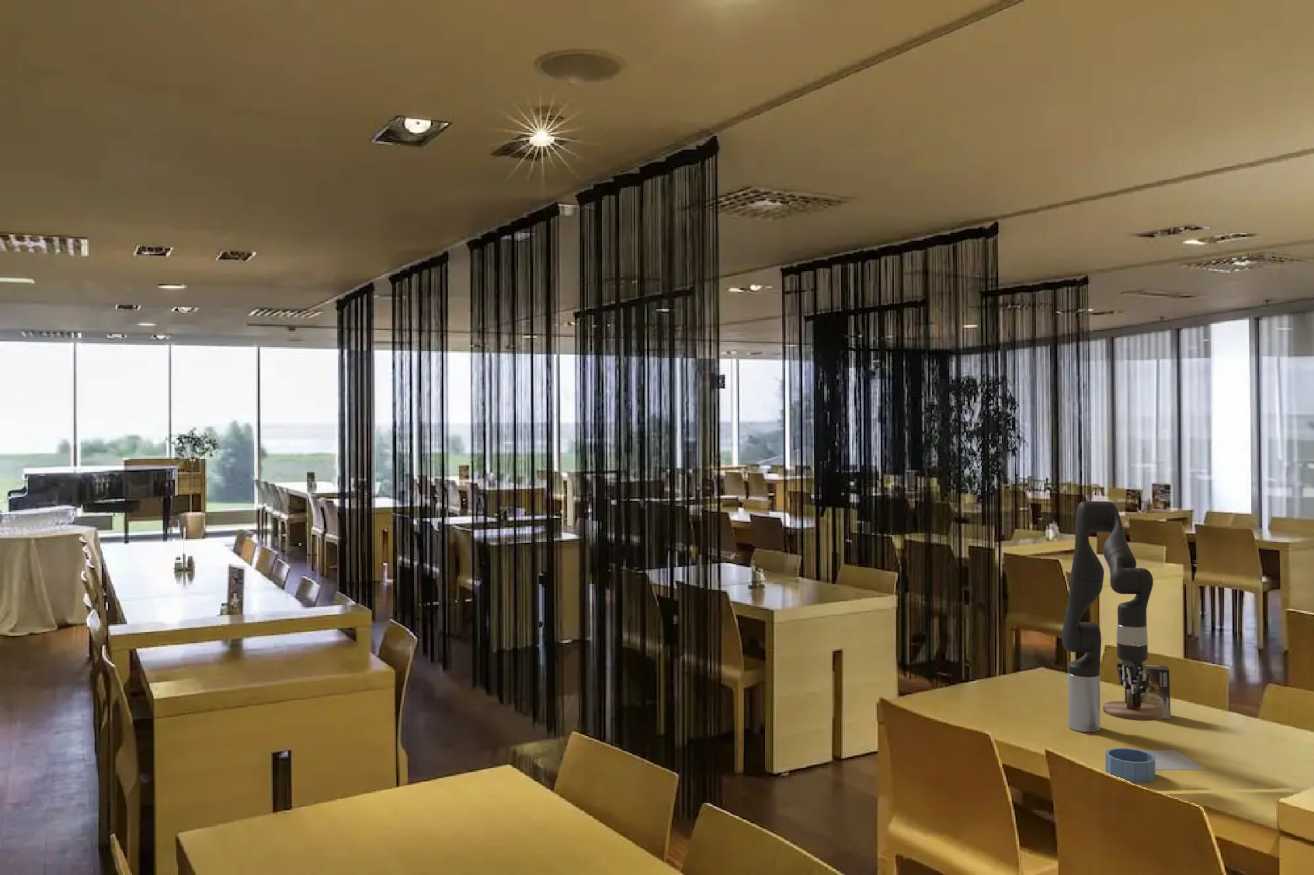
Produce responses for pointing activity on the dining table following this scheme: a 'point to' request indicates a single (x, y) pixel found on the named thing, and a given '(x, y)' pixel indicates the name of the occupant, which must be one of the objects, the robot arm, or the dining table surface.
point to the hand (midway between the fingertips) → (1133, 705)
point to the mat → (1172, 760)
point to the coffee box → (1157, 688)
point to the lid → (1133, 710)
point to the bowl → (1131, 764)
